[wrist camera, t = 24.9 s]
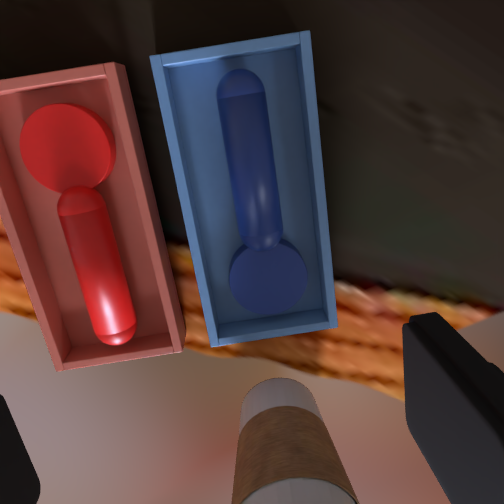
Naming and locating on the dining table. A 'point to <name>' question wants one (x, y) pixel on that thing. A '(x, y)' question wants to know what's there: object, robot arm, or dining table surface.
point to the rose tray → (120, 213)
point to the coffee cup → (286, 450)
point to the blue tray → (219, 186)
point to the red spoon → (83, 207)
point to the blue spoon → (256, 201)
